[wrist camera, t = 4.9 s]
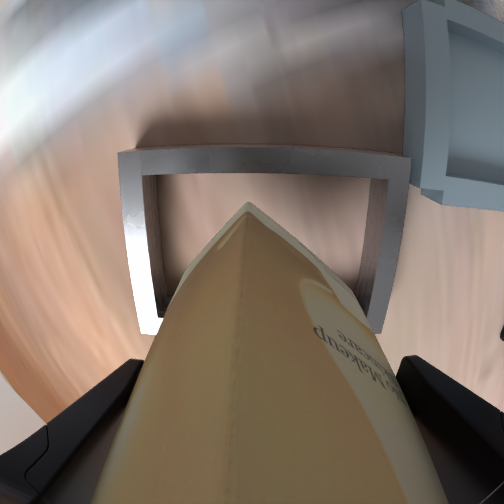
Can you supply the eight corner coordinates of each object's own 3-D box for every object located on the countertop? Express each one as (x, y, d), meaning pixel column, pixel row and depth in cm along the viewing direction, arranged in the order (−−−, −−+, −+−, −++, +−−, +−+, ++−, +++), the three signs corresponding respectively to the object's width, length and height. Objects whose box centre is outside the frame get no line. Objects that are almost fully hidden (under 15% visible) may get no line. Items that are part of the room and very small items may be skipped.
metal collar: (391, 152, 17) (411, 158, 14) (368, 311, 20) (381, 333, 18) (134, 148, 16) (117, 152, 14) (151, 311, 20) (141, 333, 18)
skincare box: (354, 289, 14) (483, 565, 2) (286, 350, 15) (321, 617, 4) (242, 191, 12) (212, 641, 1) (174, 271, 13) (60, 589, 2)
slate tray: (532, 55, 13) (553, 53, 11) (526, 207, 17) (546, 217, 15) (400, -1, 13) (419, -14, 10) (398, 192, 17) (418, 203, 15)
